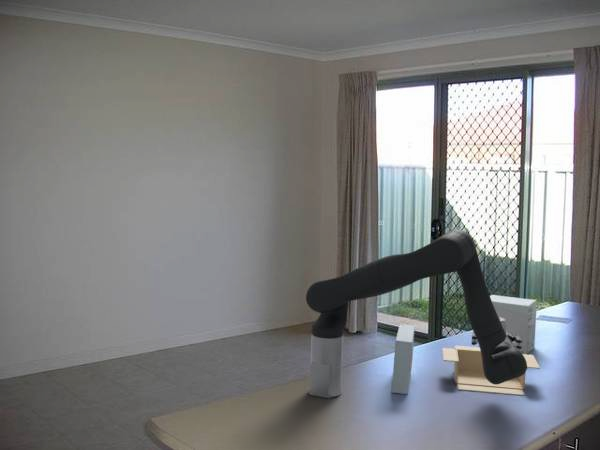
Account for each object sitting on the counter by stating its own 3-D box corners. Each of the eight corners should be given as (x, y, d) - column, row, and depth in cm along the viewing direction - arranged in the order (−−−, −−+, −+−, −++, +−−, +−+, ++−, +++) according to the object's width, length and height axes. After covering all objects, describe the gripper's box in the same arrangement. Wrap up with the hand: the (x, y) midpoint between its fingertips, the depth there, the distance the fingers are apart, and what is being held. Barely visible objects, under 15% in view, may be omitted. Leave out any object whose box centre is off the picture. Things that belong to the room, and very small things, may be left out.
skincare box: (409, 395, 197) (412, 341, 195) (391, 393, 198) (393, 340, 196) (412, 373, 217) (414, 324, 216) (395, 371, 219) (397, 323, 217)
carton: (540, 397, 198) (542, 372, 197) (442, 388, 203) (443, 364, 203) (529, 373, 220) (531, 351, 219) (441, 366, 225) (442, 344, 224)
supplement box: (535, 347, 251) (538, 299, 249) (526, 356, 240) (529, 306, 238) (489, 339, 260) (491, 293, 259) (478, 347, 249) (480, 299, 247)
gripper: (527, 337, 182) (519, 323, 199) (472, 333, 185) (469, 319, 201) (525, 364, 183) (518, 348, 199) (470, 359, 186) (468, 344, 202)
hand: (493, 333), depth 200 cm, fingers closed on beverage can, 6 cm apart
